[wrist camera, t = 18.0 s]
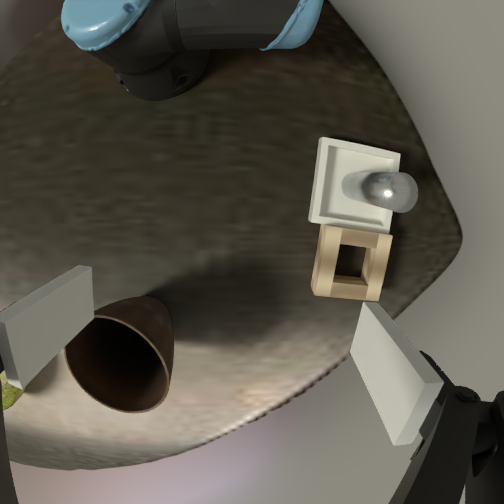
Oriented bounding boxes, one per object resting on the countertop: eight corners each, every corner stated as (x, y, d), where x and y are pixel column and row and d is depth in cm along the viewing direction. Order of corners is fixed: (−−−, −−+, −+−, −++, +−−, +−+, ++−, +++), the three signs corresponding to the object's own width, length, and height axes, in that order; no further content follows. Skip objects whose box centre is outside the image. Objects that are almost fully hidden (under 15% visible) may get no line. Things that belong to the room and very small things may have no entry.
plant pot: (169, 369, 52) (143, 429, 37) (98, 324, 51) (53, 371, 35) (209, 307, 49) (190, 362, 34) (130, 256, 48) (81, 291, 32)
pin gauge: (343, 170, 43) (386, 168, 28) (368, 175, 43) (420, 176, 28) (339, 197, 44) (380, 209, 29) (365, 201, 44) (414, 215, 29)
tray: (319, 138, 43) (322, 136, 41) (393, 154, 43) (400, 153, 41) (308, 219, 46) (311, 222, 43) (382, 231, 46) (388, 233, 44)
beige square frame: (321, 221, 46) (327, 225, 42) (382, 231, 46) (392, 235, 42) (310, 285, 48) (314, 295, 44) (369, 291, 48) (378, 301, 44)
